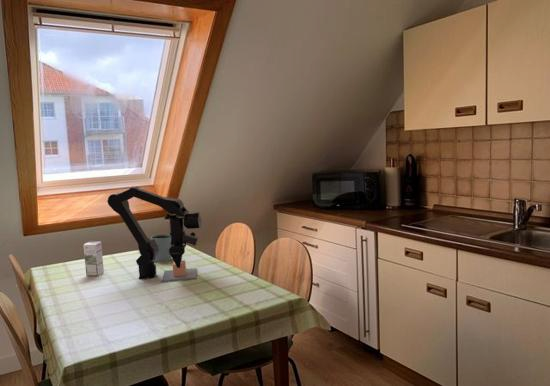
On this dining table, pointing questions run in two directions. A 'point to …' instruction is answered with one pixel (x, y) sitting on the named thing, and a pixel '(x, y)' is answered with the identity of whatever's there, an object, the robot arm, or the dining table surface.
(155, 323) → the dining table surface
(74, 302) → the dining table surface
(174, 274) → the terracotta block
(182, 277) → the slate plate
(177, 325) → the dining table surface
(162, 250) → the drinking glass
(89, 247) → the syrup box
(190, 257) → the dining table surface
